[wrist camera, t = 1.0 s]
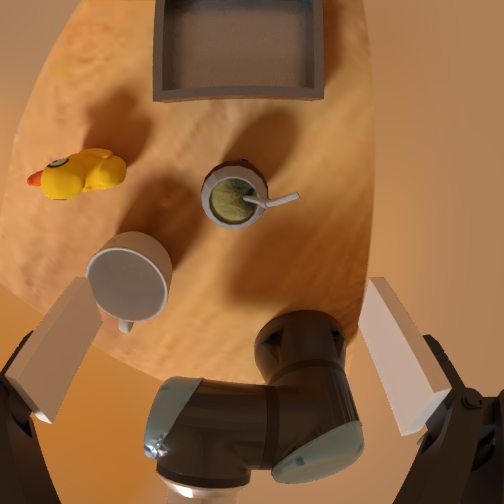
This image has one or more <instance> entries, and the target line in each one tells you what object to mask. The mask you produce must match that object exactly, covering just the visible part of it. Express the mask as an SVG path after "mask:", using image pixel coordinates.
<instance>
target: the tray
mask: <svg viewBox="0 0 504 504" xmlns="http://www.w3.org/2000/svg"><path fill="white" fill-rule="evenodd" d="M212 99H288V100H305V101H315V100H321V99H324V25H323V1H322V0H156V3H155V18H154V38H153V101H154V102H164V103H171V102H182V101H195V100H212Z"/></svg>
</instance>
